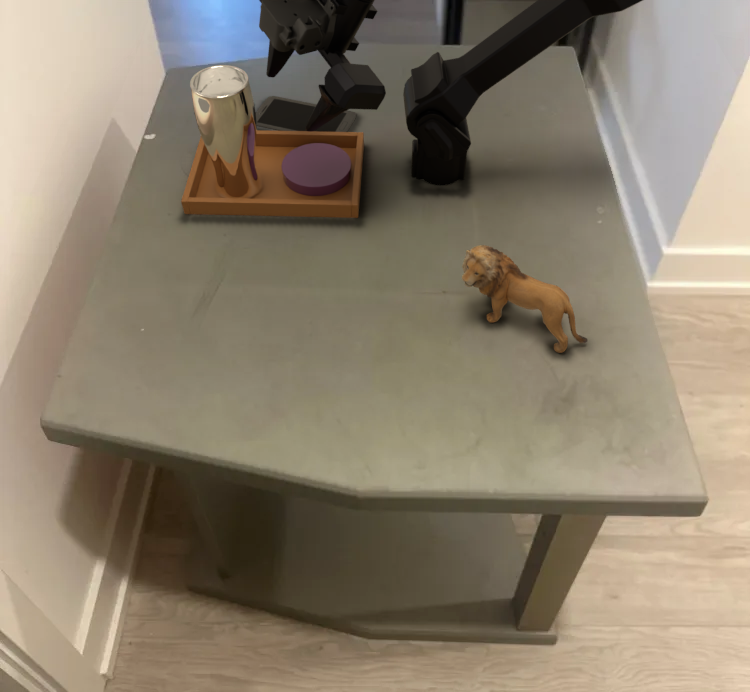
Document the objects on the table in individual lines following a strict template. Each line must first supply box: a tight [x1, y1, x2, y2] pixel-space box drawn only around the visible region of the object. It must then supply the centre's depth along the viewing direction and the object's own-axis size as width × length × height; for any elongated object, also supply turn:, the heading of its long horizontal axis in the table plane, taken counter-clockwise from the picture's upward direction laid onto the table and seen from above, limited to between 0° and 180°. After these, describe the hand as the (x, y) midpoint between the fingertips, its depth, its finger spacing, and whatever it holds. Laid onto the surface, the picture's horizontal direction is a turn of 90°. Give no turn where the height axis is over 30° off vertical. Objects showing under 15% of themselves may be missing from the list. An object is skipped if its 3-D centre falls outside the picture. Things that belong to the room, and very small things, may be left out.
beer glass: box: [189, 64, 263, 199], centre depth 89 cm, size 7×7×15 cm
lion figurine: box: [461, 244, 588, 354], centre depth 78 cm, size 15×5×9 cm, turn 66°
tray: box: [180, 129, 365, 219], centre depth 95 cm, size 22×15×3 cm
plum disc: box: [281, 143, 352, 196], centre depth 96 cm, size 9×9×2 cm
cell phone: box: [255, 95, 358, 132], centre depth 104 cm, size 7×14×1 cm, turn 71°
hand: (289, 103), depth 87 cm, fingers open, 9 cm apart
